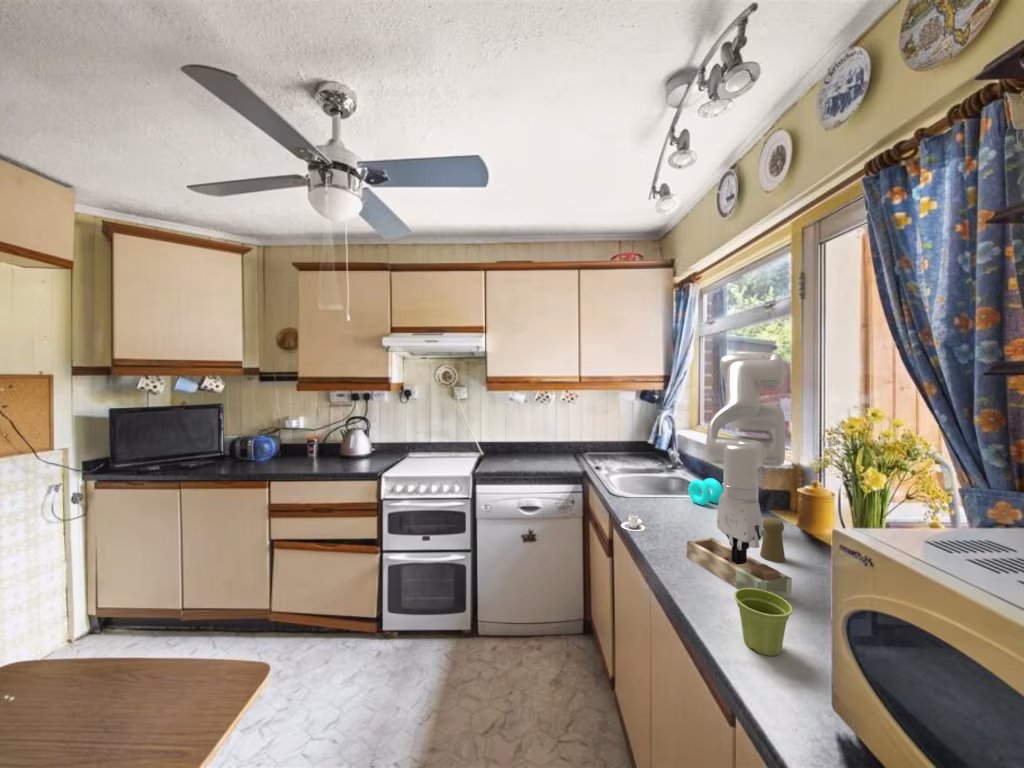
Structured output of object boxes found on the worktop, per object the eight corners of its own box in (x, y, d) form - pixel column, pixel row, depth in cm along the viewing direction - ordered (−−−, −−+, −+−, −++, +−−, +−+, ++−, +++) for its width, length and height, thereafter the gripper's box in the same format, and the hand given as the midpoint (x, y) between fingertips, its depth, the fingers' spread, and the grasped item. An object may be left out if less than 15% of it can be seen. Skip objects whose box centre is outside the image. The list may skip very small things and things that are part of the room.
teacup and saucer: (636, 522, 141) (636, 510, 141) (652, 530, 133) (652, 518, 133) (616, 525, 137) (616, 513, 137) (631, 533, 130) (631, 521, 130)
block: (750, 582, 95) (751, 565, 95) (763, 579, 96) (763, 563, 96) (765, 590, 91) (765, 573, 91) (778, 588, 92) (779, 571, 92)
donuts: (725, 505, 158) (725, 481, 158) (706, 508, 154) (706, 483, 154) (704, 498, 167) (704, 475, 167) (686, 501, 164) (686, 477, 163)
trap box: (686, 556, 113) (687, 541, 112) (712, 553, 115) (712, 537, 115) (761, 603, 90) (761, 583, 89) (791, 597, 92) (791, 578, 92)
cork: (761, 551, 117) (762, 514, 116) (786, 556, 113) (786, 518, 113) (758, 558, 112) (759, 519, 112) (784, 564, 108) (784, 525, 108)
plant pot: (744, 659, 72) (745, 612, 72) (726, 627, 81) (727, 585, 81) (802, 666, 70) (803, 618, 70) (776, 632, 79) (777, 590, 79)
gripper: (705, 485, 107) (705, 551, 107) (753, 503, 92) (752, 579, 93) (728, 482, 109) (727, 548, 110) (778, 500, 95) (777, 574, 95)
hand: (738, 562), depth 101 cm, fingers closed
